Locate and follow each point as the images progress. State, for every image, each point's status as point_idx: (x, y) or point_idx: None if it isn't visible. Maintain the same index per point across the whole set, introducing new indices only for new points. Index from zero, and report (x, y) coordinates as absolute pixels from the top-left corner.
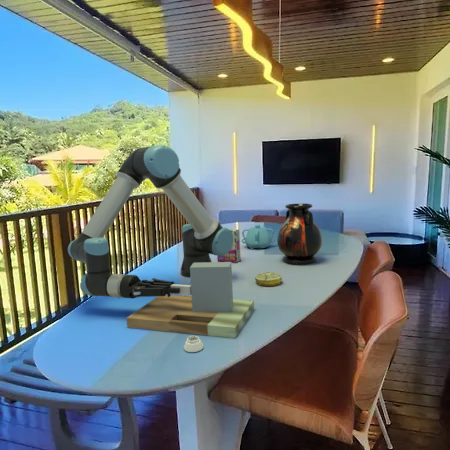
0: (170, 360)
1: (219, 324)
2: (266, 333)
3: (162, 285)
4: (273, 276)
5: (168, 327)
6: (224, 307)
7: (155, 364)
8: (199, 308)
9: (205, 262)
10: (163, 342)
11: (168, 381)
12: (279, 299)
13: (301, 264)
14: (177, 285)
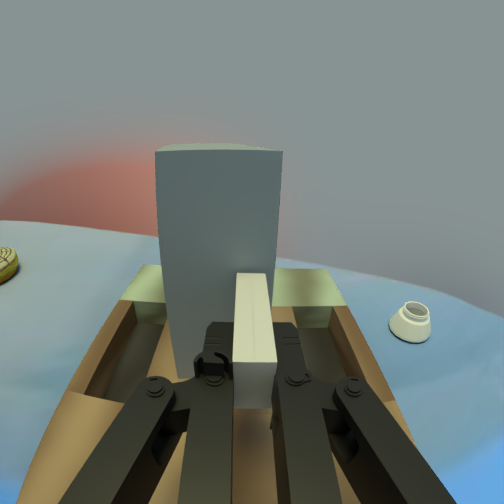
0: (466, 339)
1: (327, 289)
2: (278, 264)
3: (231, 466)
4: (6, 250)
5: None
6: None
7: (490, 349)
8: None
9: (162, 148)
10: (438, 393)
11: (489, 315)
12: (95, 261)
13: None
14: (260, 324)
